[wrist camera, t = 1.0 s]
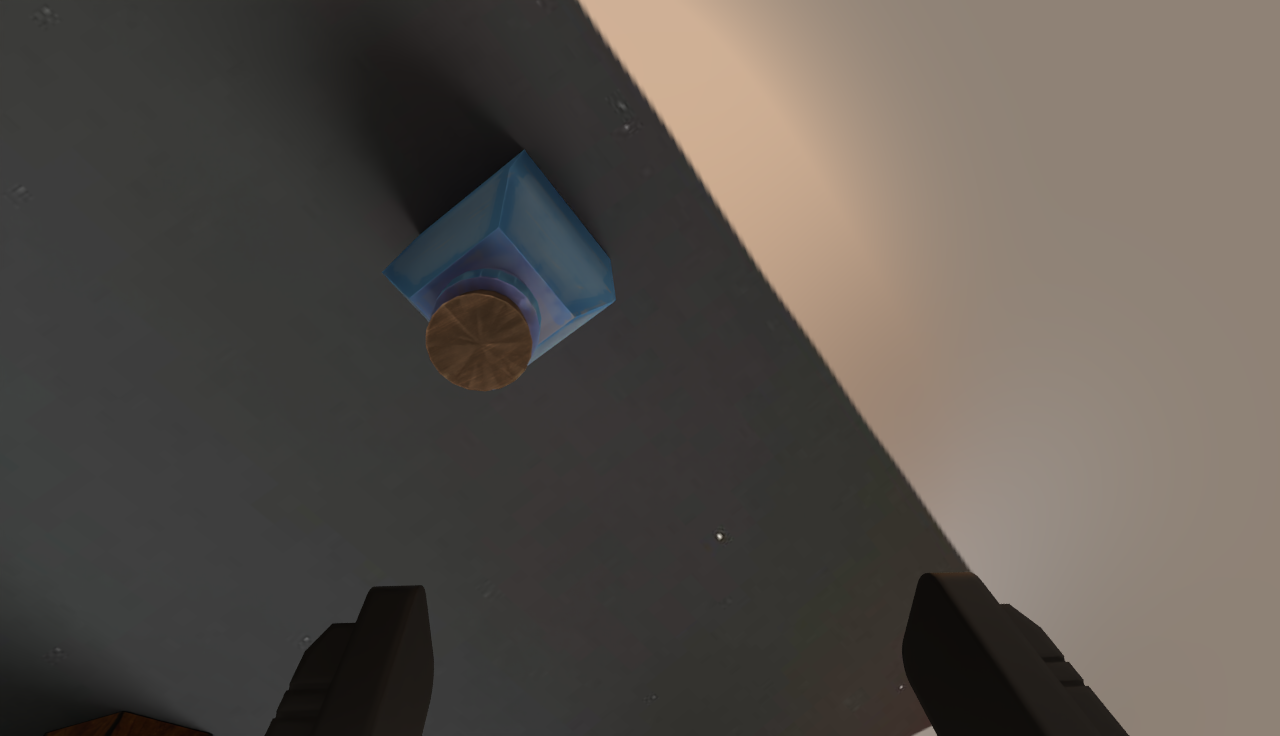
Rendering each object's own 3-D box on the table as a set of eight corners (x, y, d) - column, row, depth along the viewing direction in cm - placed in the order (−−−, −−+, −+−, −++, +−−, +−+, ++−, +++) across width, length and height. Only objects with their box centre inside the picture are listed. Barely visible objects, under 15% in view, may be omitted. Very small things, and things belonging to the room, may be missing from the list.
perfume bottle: (524, 149, 29) (488, 196, 18) (610, 259, 32) (623, 359, 21) (419, 234, 31) (327, 327, 20) (509, 335, 33) (472, 467, 22)
